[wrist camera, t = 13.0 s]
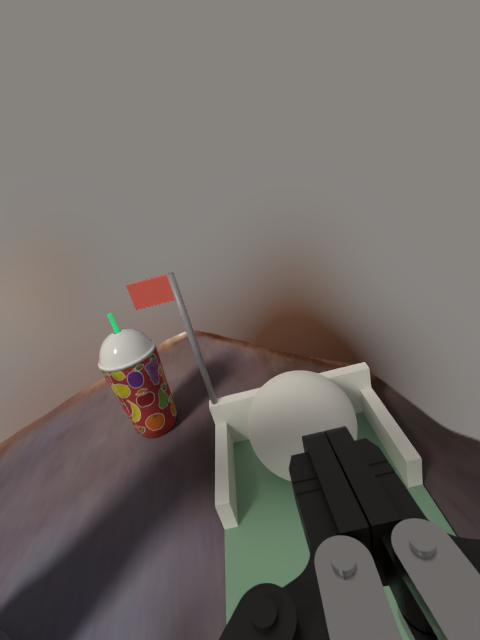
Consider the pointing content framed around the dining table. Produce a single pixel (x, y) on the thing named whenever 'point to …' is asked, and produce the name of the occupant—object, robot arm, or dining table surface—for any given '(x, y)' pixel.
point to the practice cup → (271, 490)
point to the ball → (295, 416)
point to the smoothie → (138, 380)
